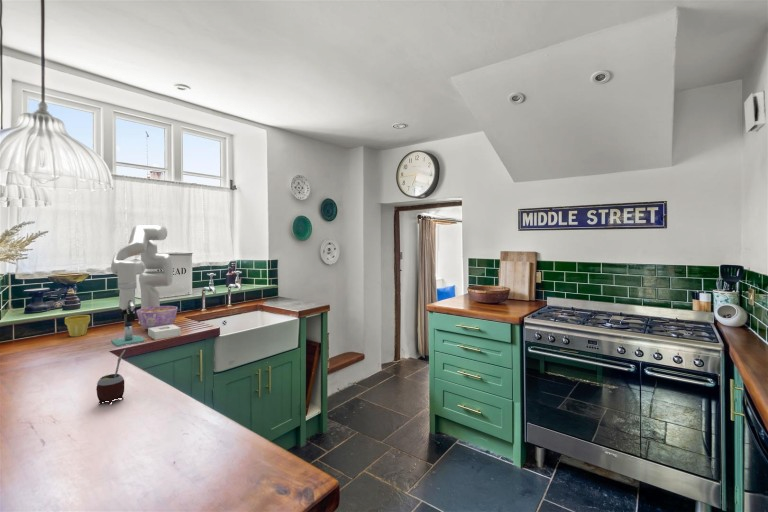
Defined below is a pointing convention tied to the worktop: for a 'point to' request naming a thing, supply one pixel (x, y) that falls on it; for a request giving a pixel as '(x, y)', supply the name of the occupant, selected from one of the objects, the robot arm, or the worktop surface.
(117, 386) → the mate gourd
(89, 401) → the worktop surface
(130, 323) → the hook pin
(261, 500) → the worktop surface
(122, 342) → the mat
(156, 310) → the bowl of food
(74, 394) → the worktop surface
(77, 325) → the plant pot
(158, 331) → the eye block
